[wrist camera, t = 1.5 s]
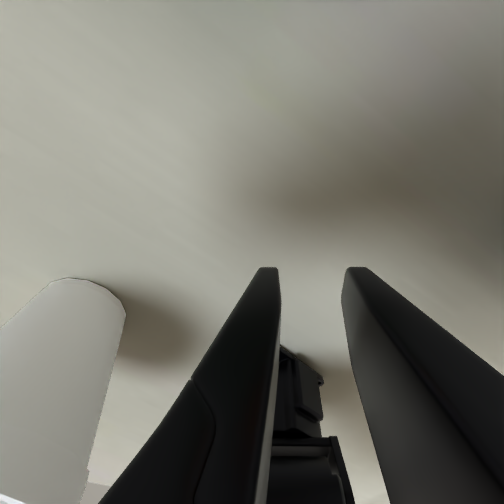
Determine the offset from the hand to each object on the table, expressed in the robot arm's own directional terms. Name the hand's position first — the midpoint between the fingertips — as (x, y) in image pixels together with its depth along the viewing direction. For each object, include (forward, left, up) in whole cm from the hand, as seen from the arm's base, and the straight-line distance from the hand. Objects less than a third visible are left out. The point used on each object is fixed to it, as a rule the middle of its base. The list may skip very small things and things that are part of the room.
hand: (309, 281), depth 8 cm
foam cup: (-20, 0, -12) cm, 23 cm away
